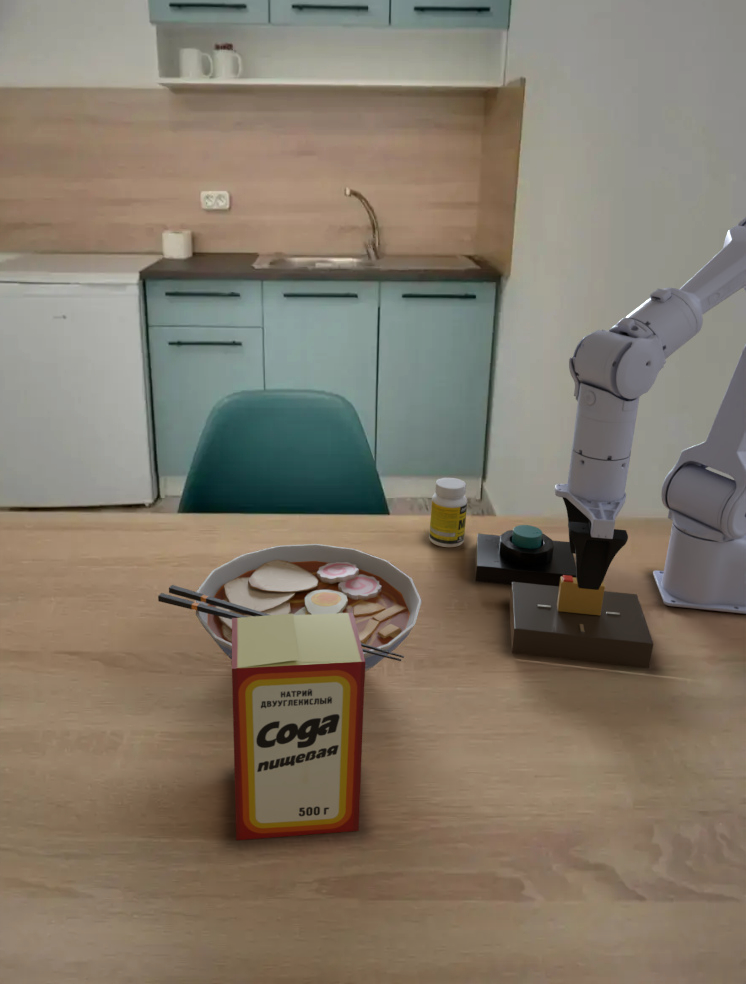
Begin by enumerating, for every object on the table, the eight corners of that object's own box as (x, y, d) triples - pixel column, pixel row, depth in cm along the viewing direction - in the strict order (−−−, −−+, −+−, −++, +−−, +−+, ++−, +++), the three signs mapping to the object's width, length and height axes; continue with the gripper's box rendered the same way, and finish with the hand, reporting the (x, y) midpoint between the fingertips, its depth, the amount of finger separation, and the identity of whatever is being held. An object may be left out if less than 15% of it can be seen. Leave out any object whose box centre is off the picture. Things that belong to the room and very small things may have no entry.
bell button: (540, 538, 105) (541, 526, 105) (541, 551, 102) (543, 538, 101) (511, 535, 106) (512, 523, 105) (512, 548, 102) (513, 536, 102)
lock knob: (598, 609, 91) (603, 578, 89) (600, 615, 89) (605, 584, 88) (556, 604, 91) (560, 573, 90) (557, 611, 90) (561, 580, 89)
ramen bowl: (456, 632, 91) (462, 566, 88) (376, 765, 72) (380, 686, 69) (259, 580, 101) (258, 519, 98) (141, 684, 81) (135, 612, 78)
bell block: (568, 557, 108) (572, 529, 107) (575, 591, 100) (579, 562, 99) (476, 548, 110) (478, 520, 109) (475, 581, 102) (477, 552, 100)
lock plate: (633, 616, 95) (637, 592, 94) (649, 668, 86) (653, 642, 85) (509, 603, 97) (511, 580, 96) (511, 652, 88) (514, 627, 87)
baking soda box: (347, 771, 71) (353, 608, 65) (358, 830, 65) (365, 657, 59) (235, 778, 70) (231, 614, 64) (236, 840, 64) (231, 664, 58)
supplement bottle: (462, 550, 109) (467, 491, 107) (427, 546, 110) (431, 488, 107) (465, 534, 114) (469, 477, 111) (430, 530, 115) (434, 474, 112)
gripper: (555, 424, 91) (541, 535, 96) (566, 473, 78) (550, 600, 82) (621, 429, 90) (604, 541, 95) (645, 480, 77) (624, 607, 81)
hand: (584, 569), depth 89 cm, fingers open, 7 cm apart
